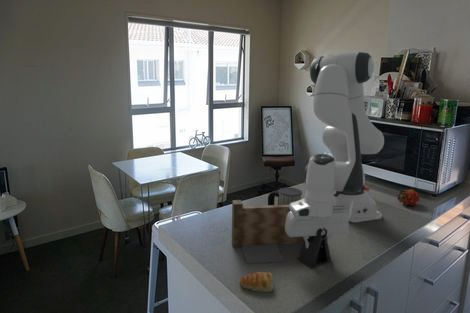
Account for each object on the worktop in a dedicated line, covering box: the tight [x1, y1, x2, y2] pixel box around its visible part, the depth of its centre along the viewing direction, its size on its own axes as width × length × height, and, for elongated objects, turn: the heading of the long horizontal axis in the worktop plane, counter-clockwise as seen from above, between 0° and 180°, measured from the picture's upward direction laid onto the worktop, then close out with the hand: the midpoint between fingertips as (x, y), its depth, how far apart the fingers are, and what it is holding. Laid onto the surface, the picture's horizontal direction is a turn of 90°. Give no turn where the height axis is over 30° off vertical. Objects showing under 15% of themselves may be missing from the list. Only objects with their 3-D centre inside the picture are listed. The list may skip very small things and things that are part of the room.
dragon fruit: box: [397, 188, 420, 207], centre depth 161 cm, size 8×8×12 cm
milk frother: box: [267, 187, 303, 205], centre depth 132 cm, size 14×16×15 cm
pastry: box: [239, 271, 274, 293], centre depth 96 cm, size 9×7×4 cm
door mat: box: [241, 244, 285, 264], centre depth 114 cm, size 12×11×1 cm
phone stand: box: [297, 228, 332, 269], centre depth 109 cm, size 9×6×12 cm, turn 122°
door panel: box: [231, 199, 304, 249], centre depth 119 cm, size 29×5×16 cm, turn 99°
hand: (315, 247), depth 109 cm, fingers closed on phone stand, 4 cm apart
